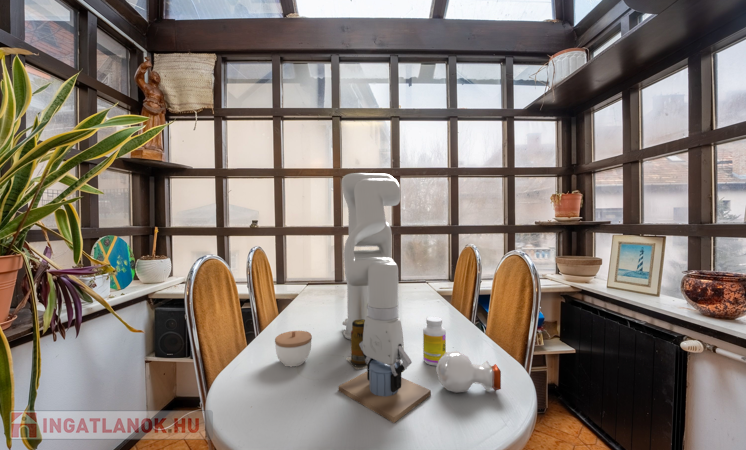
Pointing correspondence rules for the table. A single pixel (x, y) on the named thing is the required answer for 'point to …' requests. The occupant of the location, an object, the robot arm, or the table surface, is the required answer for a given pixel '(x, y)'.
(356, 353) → the condiment
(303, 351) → the lidded jar
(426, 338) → the supplement bottle
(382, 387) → the cap
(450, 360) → the potion bottle
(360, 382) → the post base
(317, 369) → the table surface
